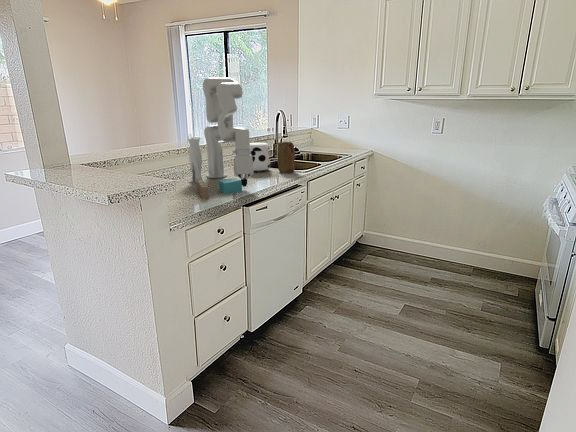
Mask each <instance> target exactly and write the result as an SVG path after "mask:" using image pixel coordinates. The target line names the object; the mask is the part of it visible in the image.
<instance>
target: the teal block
mask: <svg viewBox="0 0 576 432" xmlns="http://www.w3.org/2000/svg"><path fill="white" fill-rule="evenodd" d="M217 182H218V191H219V192H220V193H222V194H223V193H224V195H228V193H229V194H234V193H235V192H236V193H241V192H243V186H242V181H241V179H240V178H239V179H238V178H236V177H233V178H225V179H224V178H223V179H218V181H217Z"/></svg>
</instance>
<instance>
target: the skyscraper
mask: <svg viewBox="0 0 576 432" xmlns="http://www.w3.org/2000/svg"><path fill="white" fill-rule="evenodd" d="M189 137H190V138H189ZM200 140H201V137H200V136H192V134H191V133H189V134H188V136H187V141H188V143H189V146H188V147H189V148H188V160H189V166H190V170H191V174H192V176H191V180H190V181H188V183H189V184H192V185H197V183H196V179H202V180H203V181H204V179H203V176H202V173H201V172H202V168H203V167H202V166H203V156H202V150H201V146H200Z"/></svg>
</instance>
